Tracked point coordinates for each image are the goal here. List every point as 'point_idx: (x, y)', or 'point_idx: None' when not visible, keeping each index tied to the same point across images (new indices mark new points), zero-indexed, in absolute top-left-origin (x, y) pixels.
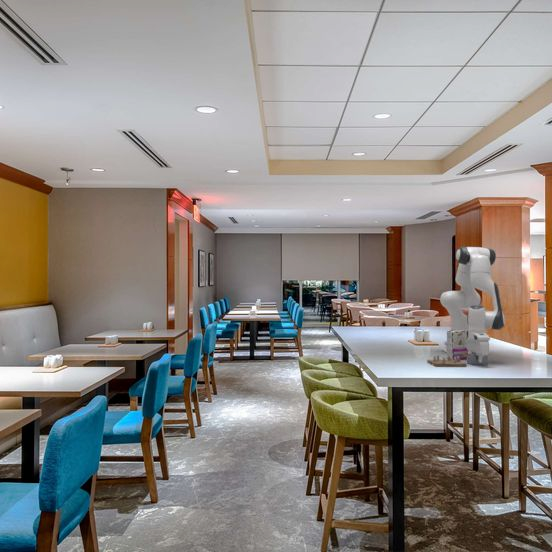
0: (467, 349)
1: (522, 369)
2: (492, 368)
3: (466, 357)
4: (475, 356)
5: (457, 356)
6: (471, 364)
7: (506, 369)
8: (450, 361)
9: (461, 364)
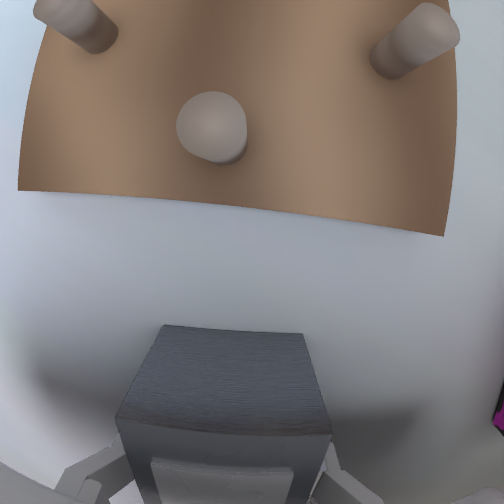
0: (480, 499)
1: None
2: (11, 393)
3: (502, 421)
4: (136, 462)
5: (197, 96)
6: (162, 332)
7: (10, 439)
8: (269, 20)
9: (31, 112)
